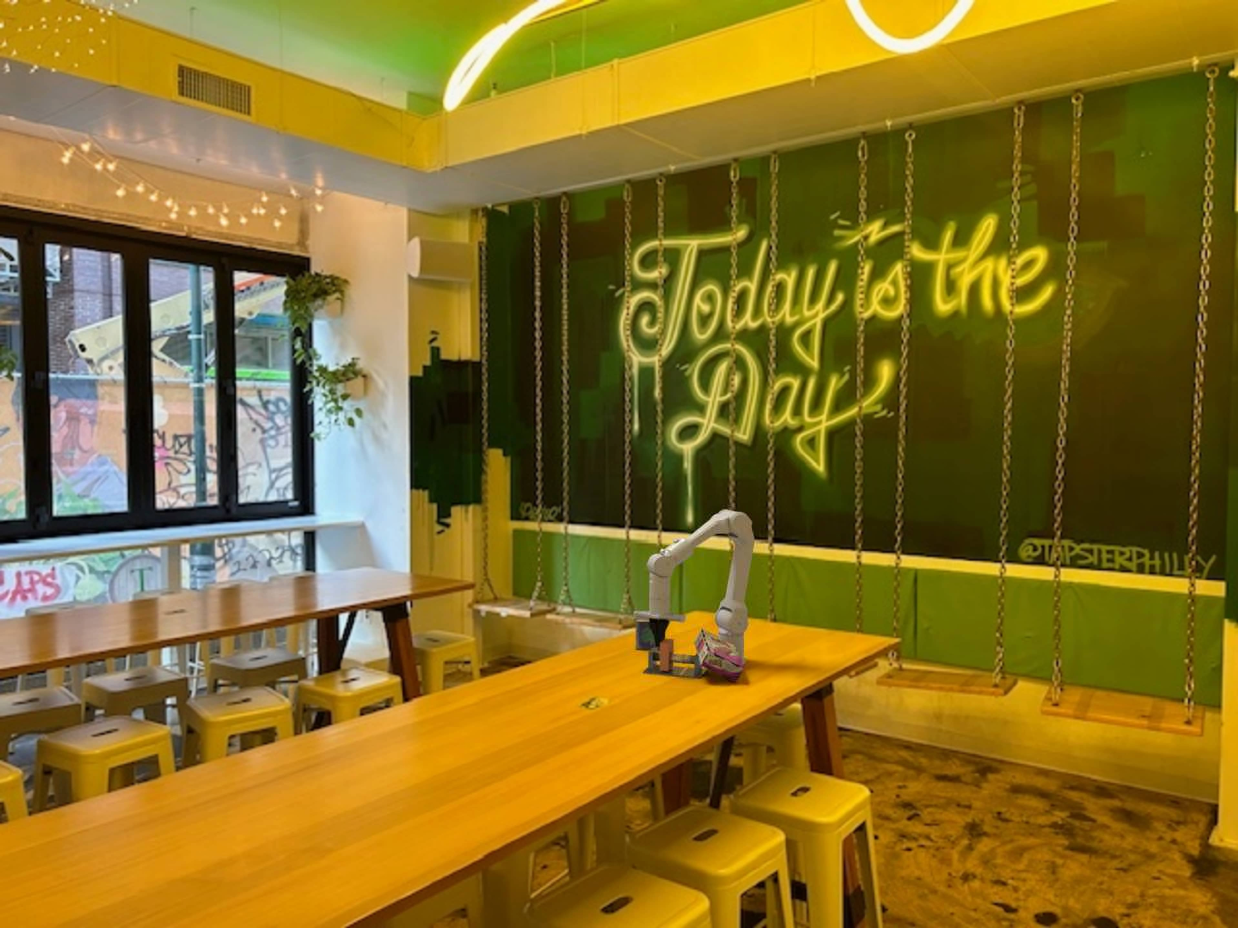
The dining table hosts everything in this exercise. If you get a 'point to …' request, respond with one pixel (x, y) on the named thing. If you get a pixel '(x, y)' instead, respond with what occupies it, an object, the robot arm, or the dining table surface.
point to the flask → (644, 636)
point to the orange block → (666, 654)
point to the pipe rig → (675, 670)
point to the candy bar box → (718, 655)
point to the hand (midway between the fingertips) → (658, 646)
